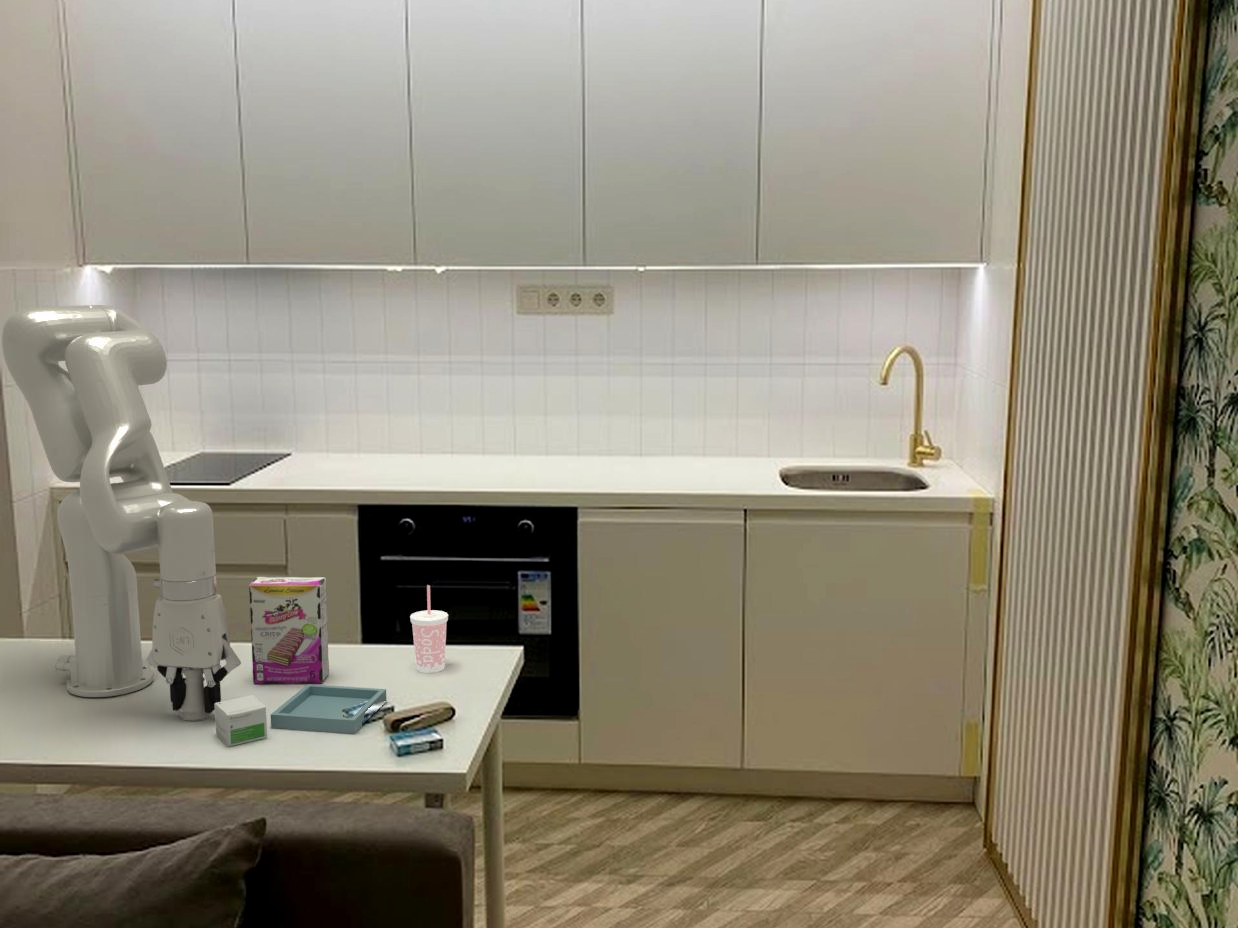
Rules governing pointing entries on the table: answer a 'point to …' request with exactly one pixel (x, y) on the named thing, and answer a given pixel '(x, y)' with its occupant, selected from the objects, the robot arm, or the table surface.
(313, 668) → the candy bar box
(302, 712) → the tray
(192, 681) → the rook chess piece
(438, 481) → the table surface
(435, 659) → the beverage cup
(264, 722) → the small box
